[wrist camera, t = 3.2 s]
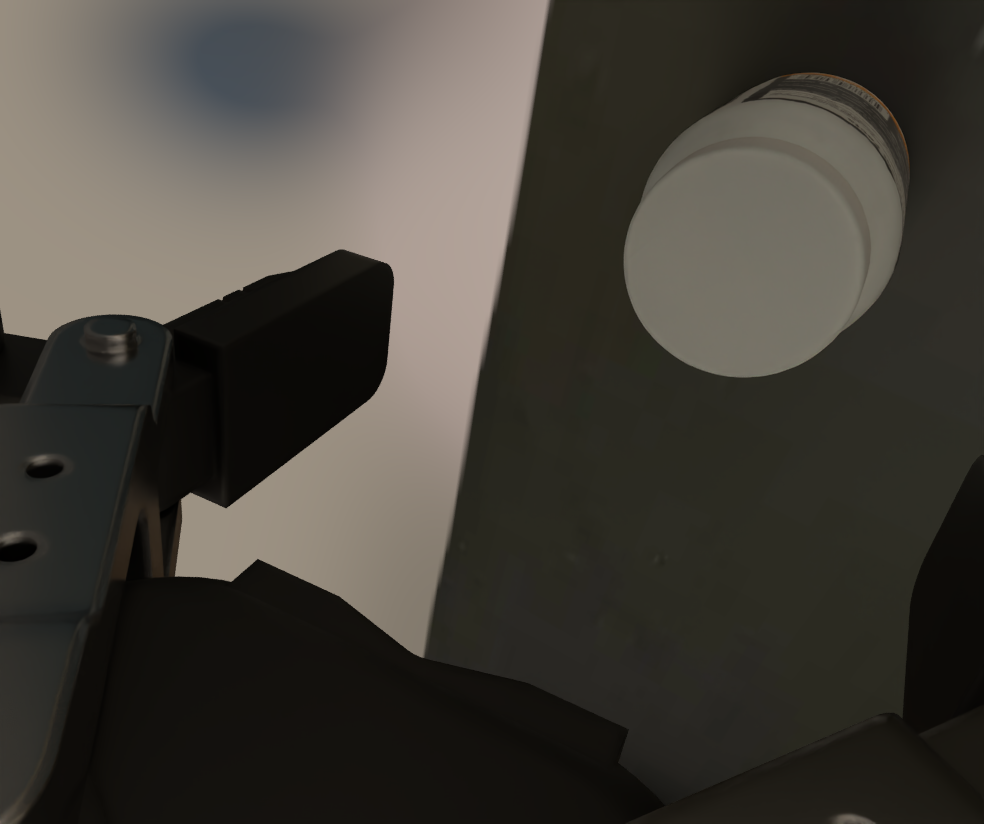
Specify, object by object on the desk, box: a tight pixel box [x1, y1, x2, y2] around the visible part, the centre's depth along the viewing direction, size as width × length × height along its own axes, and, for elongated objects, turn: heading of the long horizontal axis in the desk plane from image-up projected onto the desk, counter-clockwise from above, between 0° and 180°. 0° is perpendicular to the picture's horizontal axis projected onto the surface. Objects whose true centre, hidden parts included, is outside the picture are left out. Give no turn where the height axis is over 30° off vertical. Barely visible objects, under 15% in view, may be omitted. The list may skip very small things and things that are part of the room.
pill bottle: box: [624, 73, 910, 377], centre depth 21 cm, size 6×6×10 cm
